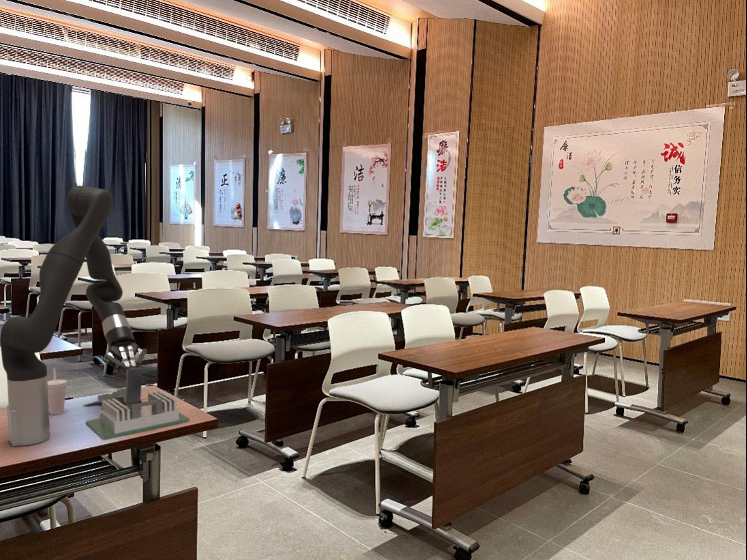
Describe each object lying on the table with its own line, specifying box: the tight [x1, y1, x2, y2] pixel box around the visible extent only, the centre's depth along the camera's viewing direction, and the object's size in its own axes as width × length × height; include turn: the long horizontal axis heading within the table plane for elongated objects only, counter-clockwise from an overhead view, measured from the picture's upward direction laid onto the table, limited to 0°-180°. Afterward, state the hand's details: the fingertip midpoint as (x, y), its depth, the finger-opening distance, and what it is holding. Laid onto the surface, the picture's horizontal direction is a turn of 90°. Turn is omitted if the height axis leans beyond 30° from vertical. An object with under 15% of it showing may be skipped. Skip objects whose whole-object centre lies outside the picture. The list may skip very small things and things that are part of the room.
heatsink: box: [85, 390, 190, 441], centre depth 172 cm, size 24×17×8 cm
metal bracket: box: [83, 387, 126, 407], centre depth 193 cm, size 14×6×15 cm
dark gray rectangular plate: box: [124, 366, 143, 406], centre depth 174 cm, size 4×1×12 cm, turn 130°
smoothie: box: [47, 367, 68, 416], centre depth 181 cm, size 6×6×14 cm
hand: (133, 379), depth 174 cm, fingers closed
